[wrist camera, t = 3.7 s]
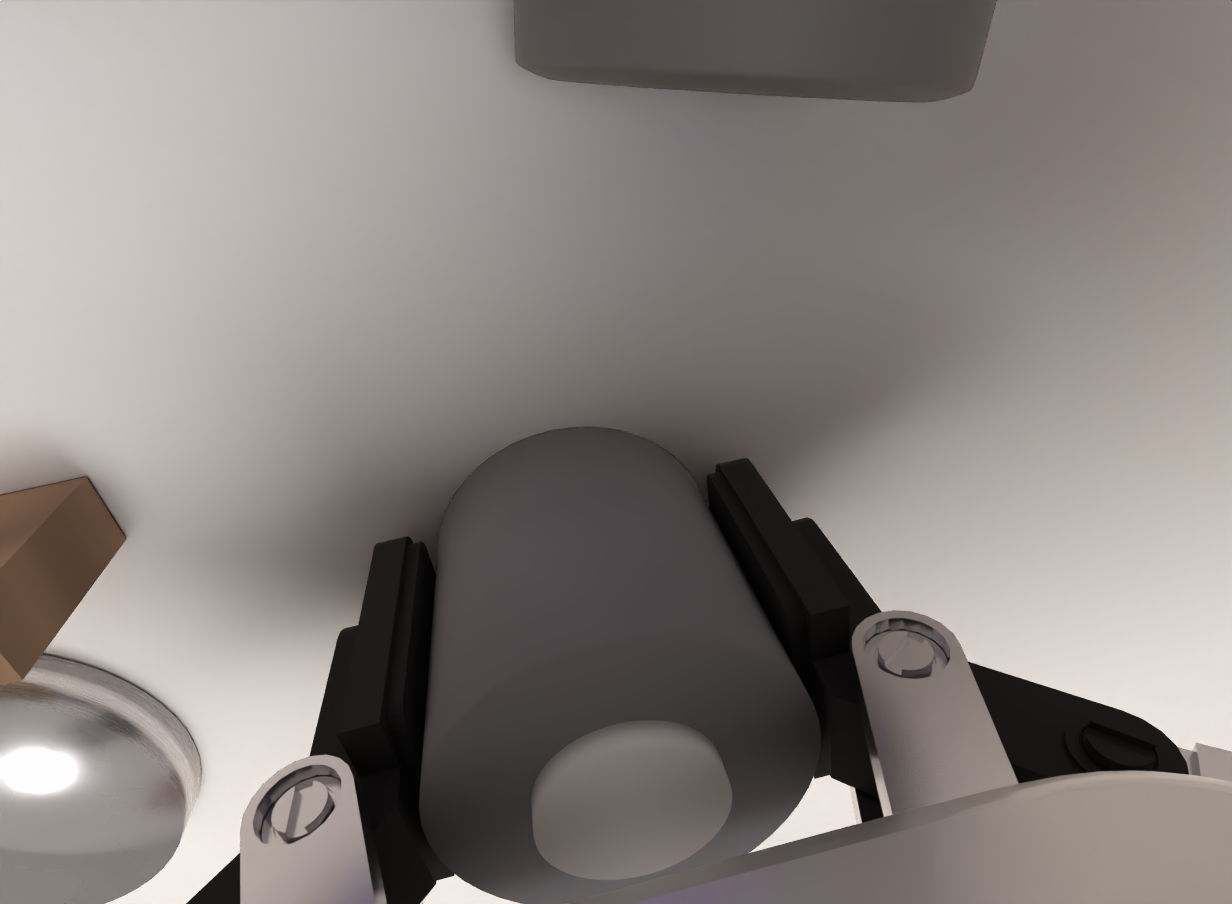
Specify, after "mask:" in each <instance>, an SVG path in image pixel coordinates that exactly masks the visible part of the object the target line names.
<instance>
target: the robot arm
mask: <svg viewBox="0 0 1232 904" xmlns="http://www.w3.org/2000/svg"><path fill="white" fill-rule="evenodd" d="M707 488H708V497H709V506H710V510H711V511H712V513H713V515H714V517H715V519H716V521H717V523H718V525H719V527H720V528H721V530H722V532H723V534H724V536H725V538H726V540H727V542H728V544H729V545H730V547H731V549H732V551H733V553H734V555H735V557H736V559H737V561H738V562H739V564H740V566H741V568H742V570H743V572H744V574H745V576H746V578H747V579H748V581H749V583H750V585H751V587H752V589H753V591H754V593H755V595H756V596H757V598H758V600H759V602H760V604H761V606H762V608H763V610H764V612H765V613H766V615H767V617H768V619H769V621H770V623H771V625H772V627H773V629H774V630H775V632H776V634H777V636H778V638H779V640H780V642H781V644H782V645H783V647H784V649H785V651H786V653H787V655H788V657H789V659H790V661H791V662H792V664H793V666H794V668H795V670H796V672H797V674H798V676H799V678H800V679H801V681H802V683H803V685H804V687H805V689H806V691H807V693H808V695H809V696H810V698H811V700H812V702H813V704H814V707H815V710H816V713H817V716H818V719H819V723H820V732H821V746H820V756H819V760H818V764H817V768H816V771H815V774H814V778H815V779H816V778H819V777H823V776H827V775H830V776H831V778H834V779H836V780H838V781H840V782H842V783H845V784H847V785H849V786H850V792H851V797H852V802H853V807H854V812H855V817H856V822H857V824H856V825H852V826H849V827H845V828H841V829H838V830H834V831H830V832H826V833H823V834H819V835H815V836H812V837H808V838H804V839H800V840H797V841H793V842H789V843H786V844H782V845H778V846H774V847H771V848H767V849H763V850H760V851H756V852H752V853H748V854H745V855H741V856H737V857H734V858H730V859H726V860H723V861H719V862H715V863H712V864H708V865H704V866H701V867H697V868H694V869H690V870H686V871H683V872H679V873H675V874H672V875H668V876H664V877H661V878H657V879H653V880H650V881H646V882H642V883H639V884H635V885H632V886H628V887H624V888H621V889H617V890H613V891H610V892H606V893H603V894H599V895H595V896H592V897H588V898H584V899H581V900H577V901H574V902H570V903H566V904H1232V752H1231V751H1227V750H1223V749H1219V748H1215V747H1211V746H1207V745H1203V744H1199V743H1196V744H1195V747H1194V749H1193V751H1190V750H1186V749H1182V748H1178V747H1177V746H1176V745H1175V744H1174V743H1173V742H1172V741H1171V740H1170V739H1169V738H1168V737H1167V736H1166V735H1165V734H1164V733H1163V732H1162V731H1160V730H1159V729H1157V728H1155V727H1154V726H1152V725H1151V724H1149V723H1148V722H1146V721H1145V720H1143V719H1141V718H1139V717H1136V716H1134V715H1131V714H1129V713H1127V712H1124V711H1122V710H1119V709H1115V708H1112V707H1109V706H1106V705H1103V704H1100V703H1097V702H1093V701H1090V700H1087V699H1084V698H1081V697H1078V696H1074V695H1071V694H1068V693H1065V692H1062V691H1059V690H1056V689H1052V688H1049V687H1046V686H1043V685H1040V684H1037V683H1033V682H1030V681H1027V680H1024V679H1021V678H1018V677H1015V676H1011V675H1008V674H1005V673H1002V672H999V671H996V670H992V669H989V668H986V667H983V666H980V665H977V664H974V663H970V662H968V661H967V659H966V657H965V654H964V652H963V649H962V647H961V645H960V643H959V642H958V640H957V639H956V637H955V636H954V634H953V633H952V632H951V631H950V630H949V629H947V628H946V627H945V626H944V625H943V624H941V623H940V622H938V621H936V620H934V619H932V618H930V617H928V616H925V615H922V614H918V613H914V612H910V611H895V610H893V611H887V612H881V610H880V609H879V608H878V606H877V605H876V604H875V602H874V601H873V600H872V598H871V597H870V596H869V594H868V593H867V592H866V590H865V589H864V588H863V586H862V585H861V583H860V582H859V581H858V579H857V578H856V577H855V575H854V574H853V573H852V571H851V570H850V569H849V567H848V566H847V565H846V563H845V562H844V561H843V559H842V558H841V557H840V555H839V554H838V553H837V551H836V550H835V548H834V547H833V546H832V544H831V543H830V542H829V540H828V539H827V538H826V536H825V535H824V534H823V532H822V531H821V530H820V528H819V527H818V526H817V524H816V523H815V522H814V521H813V520H812V519H810V518H808V517H807V518H803V519H799V520H795V521H791V519H790V518H789V516H788V515H787V513H786V512H785V511H784V509H783V508H782V506H781V505H780V503H779V502H778V500H777V499H776V498H775V496H774V495H773V493H772V492H771V490H770V489H769V487H768V486H767V485H766V483H765V482H764V480H763V479H762V477H761V476H760V475H759V473H758V472H757V470H756V469H755V467H754V466H753V464H752V463H751V462H750V460H749V459H748V458H743V459H739V460H735V461H730V462H726V463H722V464H717V466H716V473H714V474H710V475H707ZM435 579H436V573H435V570H434V567H433V565H432V562H431V559H430V557H429V554H428V551H427V548H426V546H425V544H424V543H423V542H418V543H413V541H412V539H411V538H410V537H408V536H407V537H403V538H399V539H394V540H390V541H386V542H381V543H377V544H376V545H375V547H374V551H373V556H372V561H371V566H370V571H369V576H368V581H367V585H366V590H365V595H364V600H363V605H362V610H361V615H360V619H359V624H358V625H357V626H353V627H349V628H345V629H343V630H342V631H341V632H340V634H339V636H338V639H337V643H336V647H335V652H334V656H333V660H332V664H331V668H330V673H329V677H328V681H327V685H326V689H325V694H324V698H323V702H322V706H321V710H320V715H319V719H318V723H317V727H316V732H315V736H314V740H313V744H312V748H311V753H310V757H307V758H304V759H301V760H298V761H295V762H293V763H291V764H290V765H288V766H286V767H285V768H283V769H281V770H280V771H278V772H277V773H276V774H274V775H273V776H272V777H271V778H270V779H269V780H267V781H266V782H265V783H264V784H263V785H262V786H261V787H260V789H259V790H258V791H257V792H256V794H255V795H254V796H253V797H252V799H251V800H250V802H249V804H248V806H247V808H246V810H245V812H244V814H243V818H242V824H241V829H240V853H239V854H238V855H237V856H236V857H235V858H234V859H233V860H232V861H231V862H230V863H229V864H228V865H227V866H226V867H224V868H223V869H222V870H221V871H220V872H219V873H218V874H217V875H216V876H215V877H214V878H213V879H212V880H211V881H210V882H209V883H208V884H207V885H205V886H204V887H203V888H202V889H201V890H200V891H199V892H198V893H197V894H196V895H195V896H194V897H193V898H192V899H191V900H190V901H189V902H188V903H186V904H423V899H424V898H425V897H426V896H427V894H428V893H429V892H430V891H431V890H432V888H433V887H434V886H435V885H436V880H440V879H444V878H447V877H451V876H454V873H453V872H452V871H451V870H449V869H448V868H447V867H446V865H445V864H444V863H443V862H442V861H441V860H440V859H439V858H438V857H437V856H436V854H435V852H434V851H433V849H432V848H431V846H430V845H429V843H428V841H427V839H426V836H425V833H424V831H423V828H422V825H421V819H420V812H419V797H420V782H421V768H422V755H423V741H424V728H425V714H426V701H427V687H428V674H429V660H430V647H431V633H432V620H433V606H434V593H435Z"/></svg>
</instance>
